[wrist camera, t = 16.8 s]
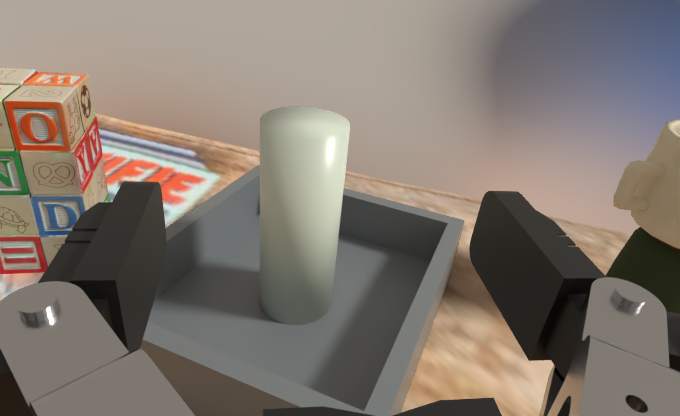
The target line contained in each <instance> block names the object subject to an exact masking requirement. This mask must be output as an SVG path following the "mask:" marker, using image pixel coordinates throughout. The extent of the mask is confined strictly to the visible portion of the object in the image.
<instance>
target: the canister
mask: <svg viewBox="0 0 680 416" xmlns="http://www.w3.org/2000/svg"><path fill="white" fill-rule="evenodd" d="M349 133H350V123H349V122H348V120H347V119H346V118H344V117H343V116H341V115H339V114H337V113H335V112H332V111H328V110H324V109H320V108H313V107H302V106H301V107H300V106H293V107H282V108H278V109H274V110H270V111H268V112H266V113H265V114H263V115H262V116H261V118H260V286H259V300H260V306H261V308H262V310H263V311H264V313H265V314H266V315H268V316H269V317H270V318H272V319H273V320H275V321H277V322H280V323H284V324H289V325H303V324H308V323H312V322H315V321H317V320H319V319H320V318H322V317H323V316H324V315H325V314H326V313H327V312H328V311H329V309H330V307H331V302H332V293H333V284H334V274H335V265H336V255H337V246H338V237H339V227H340V218H341V208H342V199H343V190H344V180H345V171H346V161H347V151H348V142H349Z"/></svg>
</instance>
